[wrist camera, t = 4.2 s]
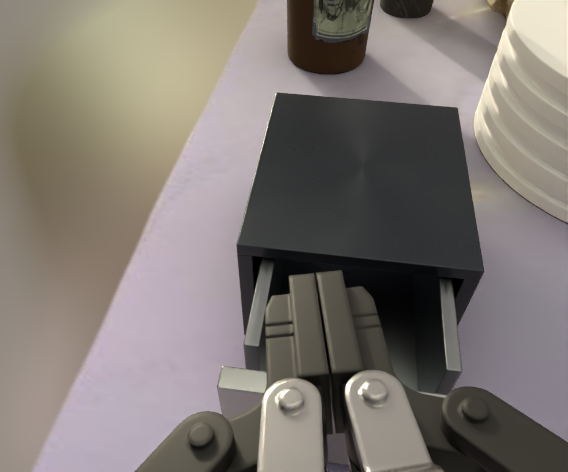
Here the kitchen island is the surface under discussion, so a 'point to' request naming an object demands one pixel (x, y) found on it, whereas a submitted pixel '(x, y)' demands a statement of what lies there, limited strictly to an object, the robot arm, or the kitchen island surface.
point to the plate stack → (529, 105)
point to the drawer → (394, 322)
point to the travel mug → (407, 7)
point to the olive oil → (328, 33)
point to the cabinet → (362, 192)
